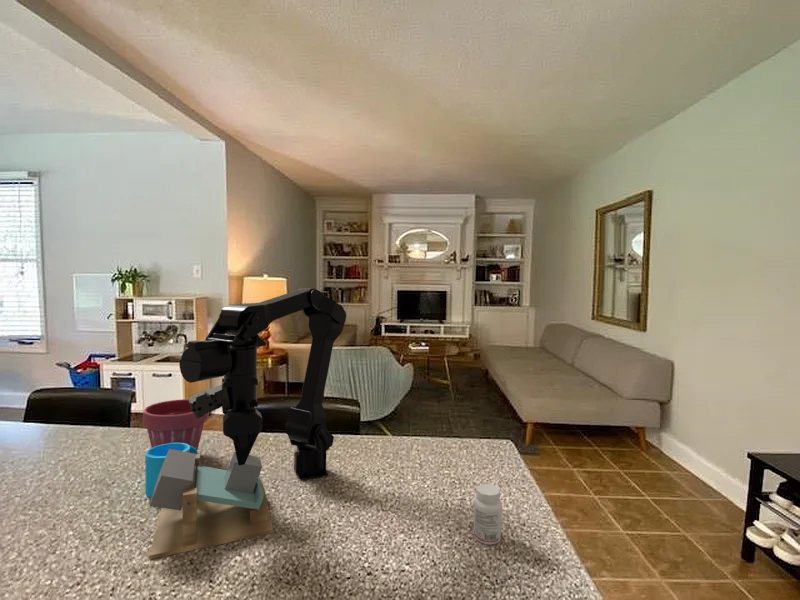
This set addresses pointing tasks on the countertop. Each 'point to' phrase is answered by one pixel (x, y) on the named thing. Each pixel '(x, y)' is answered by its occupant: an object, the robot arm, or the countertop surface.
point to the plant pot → (173, 423)
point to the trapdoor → (198, 484)
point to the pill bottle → (487, 514)
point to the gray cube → (243, 474)
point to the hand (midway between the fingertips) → (240, 454)
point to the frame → (206, 523)
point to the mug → (160, 462)
